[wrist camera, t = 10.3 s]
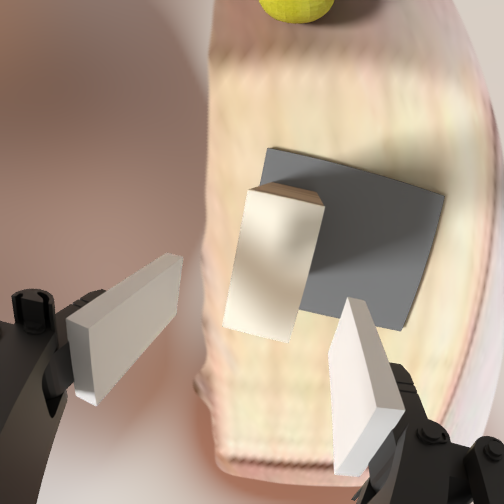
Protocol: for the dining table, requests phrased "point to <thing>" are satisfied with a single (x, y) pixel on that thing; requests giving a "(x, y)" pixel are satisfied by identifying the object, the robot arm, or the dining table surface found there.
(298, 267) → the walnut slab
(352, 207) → the felt pad
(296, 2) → the fruit
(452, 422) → the dining table surface
